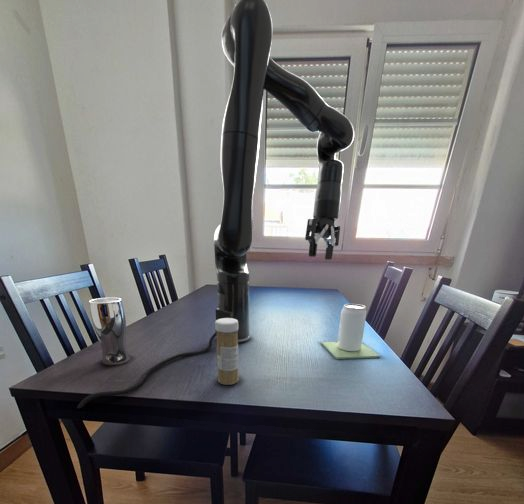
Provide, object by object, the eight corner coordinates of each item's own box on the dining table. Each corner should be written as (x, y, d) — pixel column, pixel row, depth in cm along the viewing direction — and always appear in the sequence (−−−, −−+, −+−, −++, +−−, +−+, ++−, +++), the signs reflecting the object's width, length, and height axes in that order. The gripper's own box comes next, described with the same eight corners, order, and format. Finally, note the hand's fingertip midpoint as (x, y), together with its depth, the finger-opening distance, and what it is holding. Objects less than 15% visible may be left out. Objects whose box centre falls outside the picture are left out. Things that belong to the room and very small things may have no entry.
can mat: (336, 359, 73) (336, 357, 73) (321, 343, 84) (321, 341, 84) (379, 357, 74) (380, 355, 74) (359, 342, 85) (359, 340, 85)
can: (336, 350, 77) (341, 307, 73) (337, 343, 83) (342, 302, 79) (361, 353, 75) (367, 309, 71) (360, 345, 81) (366, 304, 77)
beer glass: (96, 360, 69) (83, 299, 64) (125, 353, 74) (115, 296, 69) (107, 368, 65) (94, 304, 60) (136, 360, 70) (127, 300, 64)
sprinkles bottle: (219, 376, 62) (217, 317, 58) (240, 376, 62) (239, 317, 58) (216, 385, 58) (213, 323, 53) (238, 386, 58) (237, 323, 53)
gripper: (324, 193, 77) (316, 255, 81) (350, 205, 87) (343, 260, 91) (302, 197, 82) (296, 255, 86) (330, 208, 92) (323, 260, 96)
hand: (320, 258), depth 88 cm, fingers open, 8 cm apart
